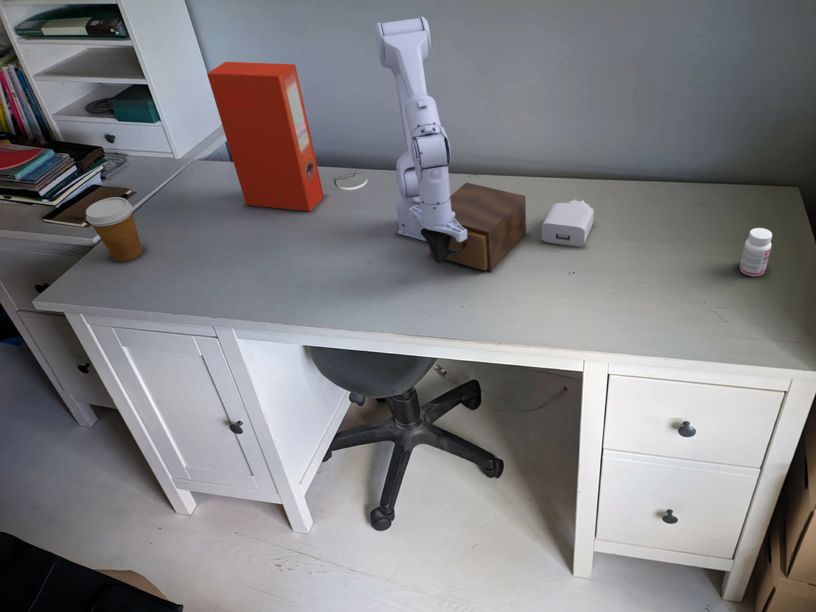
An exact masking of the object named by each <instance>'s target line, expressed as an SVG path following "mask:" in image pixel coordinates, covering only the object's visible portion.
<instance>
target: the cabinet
mask: <svg viewBox="0 0 816 612" xmlns="http://www.w3.org/2000/svg"><path fill="white" fill-rule="evenodd" d="M450 199H451V211H453V212H455V217H454V218H455V219H456V220H457V222H458V223H459V224H460V225H461V226H462V227H463V228H465V229H467V230H471V231H475V232H479V233H483V234H486V241H487V258H488V268H487V269H486V270H485V271H487V272H489V273H492V272H493V270H494V269H495V268H497V266H499V264H500V263H501V262H502V261H504V259H505V258H506V257H507V256H508V255H509V254H510V253H511V252H512V251H513V249H514V248H515V247H517V246H518V244H519V243H520V242H521V241H522V240H523V239H524V238H525V237H526V236H527V225H526V224H527V213H526V212H527V207H526V206H527V203H526V195H524V194H520V193H515V192H510V191H506V190H503V189H497V188H492V187H488V186H484V185H480V184H475V183H471V182H465V183H463V184H462V185H461V186H460V187H459V188H458V189H456V191H454V192H453V193H452V194H450Z"/></svg>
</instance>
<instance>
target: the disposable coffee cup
mask: <svg viewBox="0 0 816 612" xmlns="http://www.w3.org/2000/svg"><path fill="white" fill-rule="evenodd" d="M85 215H86V216H85V220H86V222H88V223H89V224H90V225H91V226H92V228H93V229H94V230H95V232H96V234H97V235H98V237H99V238H100V240H101V241H102V243H103V245H104V246H105V247H106V249H107V251H108V252H109V253H110V255H111V257H112V258H113V260H114V261H116V262H120V263H123V262H130V261H132V260H135V259H137V258H138V257H139V256H141V255H142V253H143V247H142V243H141V241H140V236H139V233H138V229H137V226H136V222H135V219H134V214H133V205H132V204H131V203H130V202H129V201H128V200H127V199H126V198H124V197H120V196H119V197H118V196H116V197H108V198H103V199H101V200H97V201H95V202H94V203H92V204H90V205H89V206H88V207H87V208H86V210H85Z"/></svg>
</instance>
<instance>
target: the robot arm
mask: <svg viewBox="0 0 816 612" xmlns="http://www.w3.org/2000/svg"><path fill="white" fill-rule="evenodd" d="M374 35H375V41H376V42H375V43H376V47H377V51H378V58H379V62H380V63H379V64H381V67H382V68H385V69H389V70H391V73H392V75H393V78H394V80H395V84H396V91H397V98H398V106H399V111H400V118H401V123H402V130H403V136H404V144H405V147H406V148H405V149H406V151H405V152H403V154H402V155H401V156H400V157H399V158H398V159H397V161H396V164H395V169H396V170H395V171H396V179H397V180H396V181H397V186H398V190H399V195H398V197H397V200H396V213H397V219H398V220H397V221H398V227H399V230H398V231H397V233H398V235H401V236H405V237H408V238H413V239H415V240H419V241H423V242H426V243H427V244H428V246H430V247H429V250H430V249H431V251H432V254H433V256H432V257H433V259H434V261H435V262H437V263H438V264H440V263H442V262H444V261H447V260H446V259H447V253H448V249H449V245H450V242H451V240H452V238H453V237H455V238H456V241H458V242H462V241H464V240H465V239H467V229H465V228H463V227H462V226H461V225H460V224H459V223H458V222H457V220H456V219H455V218H454V217H455V212H453V211H451V199H450V196H451V190H450V189H451V188H450V176H449V174H450V173H449V165H451V160H452V153H451V145H450V141H449V138H448V135H447V132H446V130H445V127H444V126H442V123H441V120H440V116H439V111H438V107H437V102H436V100H435V99H434V98H433V97H432V96H431V95H428V91H427V85H426V83H427V82H426V78H425V77H426V76H425V70H424V63H425V62H427V61H428V58H429V55H430V51H431V48H432V40H431V39H432V38H431V31H430V27H429V22H428V20H427V19H426V18H425V17H424V16H420V17H417V18H411V19H410V18H409V19H402V20H396V21H388V22H381V23H380V22H377V23H376V25H375V26H374Z"/></svg>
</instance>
